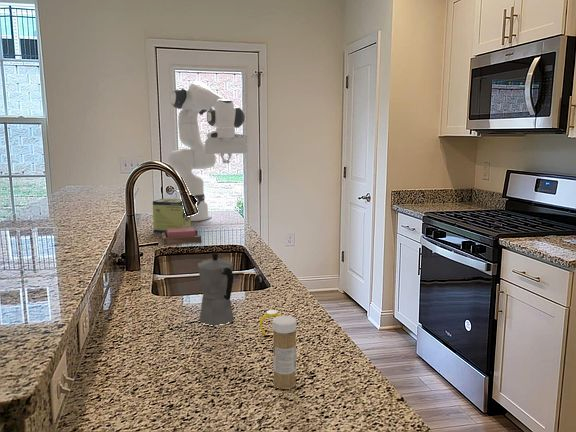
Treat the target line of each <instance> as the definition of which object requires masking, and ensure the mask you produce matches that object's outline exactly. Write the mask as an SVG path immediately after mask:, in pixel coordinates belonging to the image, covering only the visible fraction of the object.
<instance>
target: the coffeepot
mask: <svg viewBox="0 0 576 432" xmlns="http://www.w3.org/2000/svg"><path fill="white" fill-rule="evenodd" d="M211 255H212V259H210V258H209V259H204V260H201V262H199V263H197V268H198V273H199V275H198V276H199V279H200V285H201V286H200V287H201V291H202V299H201V307H200V314H199V321H200V322H202V323H205V324H209V325H219V324H226V323H228V322H230V321H232V320H234V321H235V318H234V313H233V306H232V302H231V295H232V291H233V289H232V288H233V285H234V279H235V277H234V273H233V270H234V264H233V261H230V260H225V259H218V257H219V253H218V252H214V253H212V254H211ZM200 322H199V323H200Z"/></svg>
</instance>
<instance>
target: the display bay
mask: <svg viewBox="0 0 576 432" xmlns="http://www.w3.org/2000/svg"><path fill="white" fill-rule="evenodd" d="M198 233H199V231H198V229H195V235H196V236H191V237H176V238H167V232H162V233H161V236H162V242H163V244H164V245H177V244H192V243H202V235H198Z"/></svg>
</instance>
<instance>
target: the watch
mask: <svg viewBox="0 0 576 432" xmlns="http://www.w3.org/2000/svg"><path fill="white" fill-rule="evenodd" d="M278 316H283V315H281V313H280V312H278V310H277V309H269V310H266V312H265V313H264V314H263V315H262V316H261V319H260V321H259V328H260V329H259V330H260V331H261V333H262V335H264V334H266V333H267V332H266V331H265V330H264V329H263V322H264V320H265V319H266V318H268V317H269V318H270V317H271V318H273V317H274V318H275V317H278ZM265 332H266V333H265Z"/></svg>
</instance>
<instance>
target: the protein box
mask: <svg viewBox="0 0 576 432" xmlns="http://www.w3.org/2000/svg"><path fill="white" fill-rule="evenodd" d="M181 199H182V198H161V199H160V198H159V199H157V200H153V201H152V219H153V220H152V221H153V234H154V233H156V234H157V233H158V234H162V232H167V228H183V227H192V223H191V222H192V221H191V216H190V217H187V216H186V215H185V213H184V209H183V205H182V201H181Z"/></svg>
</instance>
